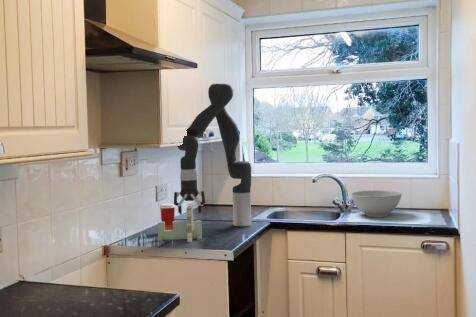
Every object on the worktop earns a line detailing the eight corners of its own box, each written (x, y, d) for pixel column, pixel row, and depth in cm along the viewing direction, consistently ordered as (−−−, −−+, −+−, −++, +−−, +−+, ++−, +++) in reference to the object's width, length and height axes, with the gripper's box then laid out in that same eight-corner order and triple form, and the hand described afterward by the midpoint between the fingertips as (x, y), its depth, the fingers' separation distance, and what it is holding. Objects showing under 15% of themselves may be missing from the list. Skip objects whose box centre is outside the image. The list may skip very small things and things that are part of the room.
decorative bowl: (410, 214, 287) (410, 192, 286) (387, 221, 268) (386, 198, 267) (367, 209, 306) (366, 189, 305) (342, 216, 286) (342, 194, 286)
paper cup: (170, 230, 260) (169, 202, 259) (179, 232, 254) (178, 204, 253) (157, 232, 255) (156, 204, 254) (165, 235, 249) (164, 206, 248)
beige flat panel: (189, 234, 248) (188, 203, 247) (193, 234, 248) (192, 203, 247) (187, 242, 232) (186, 208, 231) (192, 241, 232) (190, 208, 231)
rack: (159, 237, 243) (158, 220, 243) (202, 236, 244) (201, 219, 244) (157, 241, 235) (156, 223, 235) (201, 239, 236) (200, 222, 236)
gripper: (204, 177, 242) (205, 211, 243) (174, 178, 242) (175, 213, 243) (203, 179, 235) (205, 214, 236) (172, 180, 234) (173, 215, 235)
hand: (190, 213), depth 239 cm, fingers open, 8 cm apart
